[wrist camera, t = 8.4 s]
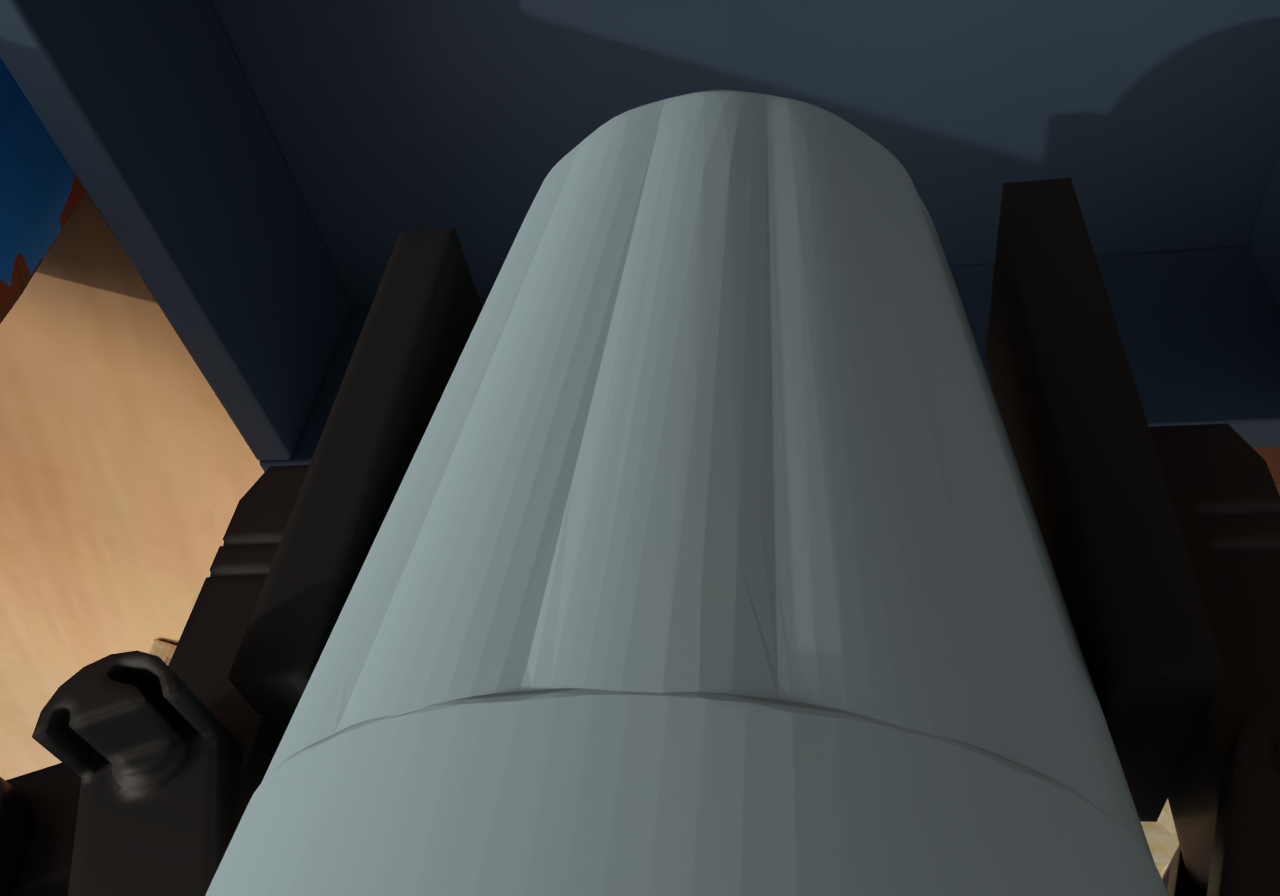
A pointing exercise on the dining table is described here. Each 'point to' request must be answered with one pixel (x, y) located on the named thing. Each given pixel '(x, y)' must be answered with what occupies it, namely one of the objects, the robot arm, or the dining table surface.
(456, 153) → the tub
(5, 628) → the dining table surface
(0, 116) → the thermos
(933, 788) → the cup
